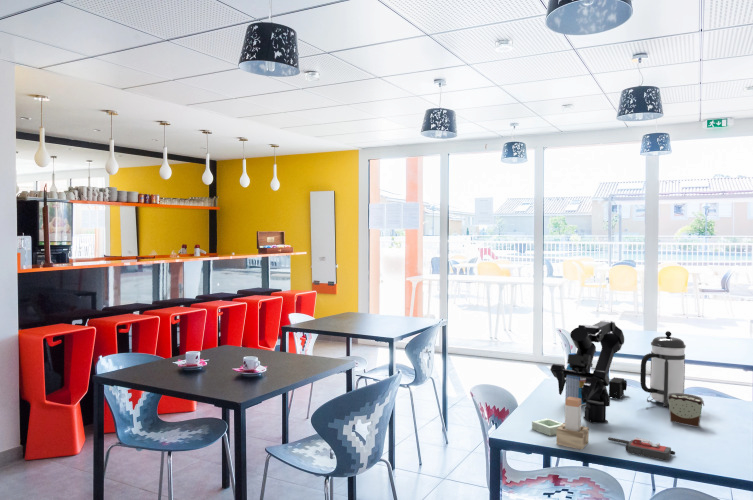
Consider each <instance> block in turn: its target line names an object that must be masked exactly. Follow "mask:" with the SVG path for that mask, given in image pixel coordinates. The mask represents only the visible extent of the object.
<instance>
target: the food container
mask: <svg viewBox="0 0 753 500" xmlns="http://www.w3.org/2000/svg"><path fill="white" fill-rule="evenodd" d="M667 399H668V400H669V403H668V408H669V409H668V411H669V418H670V419H669V421H670V423H675V424H680V425H684V426H685V425H687V426H689V427H690V426H691V427H694V428H699V427H700V423H701V417H702V416H701V415H702V408H703V407H704V406H705V403H704V400H703V398H702V397H700V396H697V395H693V394H689V393H684V394H683V393H670V394H668V396H667Z"/></svg>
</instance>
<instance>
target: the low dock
mask: <svg viewBox="0 0 753 500" xmlns="http://www.w3.org/2000/svg"><path fill="white" fill-rule="evenodd" d="M563 423H564V422H563ZM563 423H562V422H560V421H556V420H554V419H551V418H542V419H539V420H533V421H531V429H532V430H534V431H536V432H539V433H542V434H545V435H547V436H554V435H557V428H558V427H559V426H561V425H562V424H563Z"/></svg>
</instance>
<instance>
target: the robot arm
mask: <svg viewBox="0 0 753 500" xmlns="http://www.w3.org/2000/svg"><path fill="white" fill-rule="evenodd" d="M569 334H570V335H569V336H570V339H571V341H572V342H573V345H574V346H575V348H576V349H577V350H576V352H575V353H576V354H575V355H572V354H570V353H568V354H569V355H567V362H566V364H568V365H569V364H570V368H572V370H568V369H566V368H565V365H564V364H559V363H552V365H550V372H551V373H552V376H553V377H554V378H556V380H557V383H558V394H559V395H560V396H562V394H563V392H564V388H565V386H566V376H567V375H570V376H576V377H582V378H586V380H585V383H584V386H583V387H582V390H581V395H582V403H586V404H585V407H584V416H583V419H584V420H586V421H588V422H590V423H591V424H596V423H597V424H599V423H601V424H602V423H609V420H607V417H606V415H607V413H606V412H607V407H611V406H610V405H611V398H610V397H609V391H608V389H607V387H609V382H610V378H609V375H608V374H609V371H610V368H611V365H612V362H613V359H614V355H615V354H616V353H618V352H620V351H621V349H622V348H623V347H622V346H623V345H624V343H625V335H624V332H623V330H622V329H621V328H619V327H618V326H617V325H616V322H615V321H612V320H605V319H603V320H600V321H599V322H597V323H594V324H592V325H588V324H579V325H578V327H575V328H574V329H573V330H571V332H570V333H569ZM595 343H600V346H601V350H600V352H599V355H598V358H597V362H596V365H595V368H594V370H593V372H590V371H591V368H593V365H594V364H593V360H594V357H595V353H597V349H596V345H595Z"/></svg>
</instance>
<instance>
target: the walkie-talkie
mask: <svg viewBox="0 0 753 500" xmlns="http://www.w3.org/2000/svg"><path fill="white" fill-rule="evenodd" d="M607 440H608V441H611V442H615V443H620V444H625V450H626V452H627V453H628V454H633V455H637V456H642V457H646V458H652V459H655V460H659V461H660V460H661V461H665V462H667V461H669V460H670V458H671V457H672V456H674V455H675V456H676V452H675V451H673V450H672V447H670V446H665V445H661V444H660V442H657V443H653V442H652V441H651V440H650V439H645V438H639V437H635V438H634V439H631V440H625V439H622V438H621V439H620V438H614V437H611V436H610V437H608V438H607ZM671 455H672V456H671Z"/></svg>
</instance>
